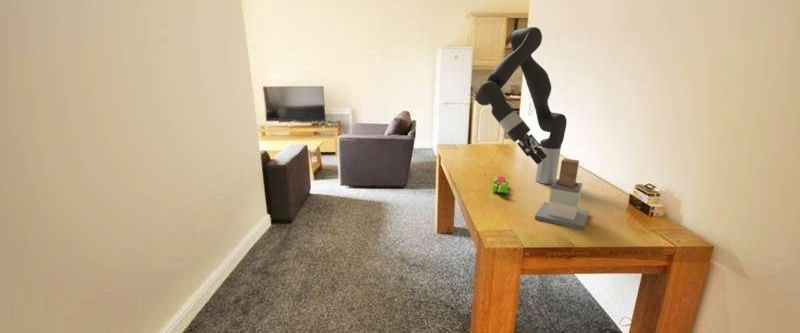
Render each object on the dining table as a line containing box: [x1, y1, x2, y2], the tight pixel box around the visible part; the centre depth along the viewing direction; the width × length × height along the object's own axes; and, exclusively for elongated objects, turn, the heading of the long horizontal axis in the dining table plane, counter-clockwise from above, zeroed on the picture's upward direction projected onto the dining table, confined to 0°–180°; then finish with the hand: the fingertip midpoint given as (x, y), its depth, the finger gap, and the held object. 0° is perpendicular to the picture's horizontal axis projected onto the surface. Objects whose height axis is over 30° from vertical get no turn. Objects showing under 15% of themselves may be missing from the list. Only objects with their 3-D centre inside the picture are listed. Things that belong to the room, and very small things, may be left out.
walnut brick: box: [558, 158, 580, 188], centre depth 128 cm, size 5×5×10 cm
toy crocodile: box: [492, 175, 509, 195], centre depth 160 cm, size 20×7×6 cm, turn 166°
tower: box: [534, 178, 590, 231], centre depth 131 cm, size 16×16×13 cm
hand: (542, 160), depth 132 cm, fingers open, 8 cm apart
